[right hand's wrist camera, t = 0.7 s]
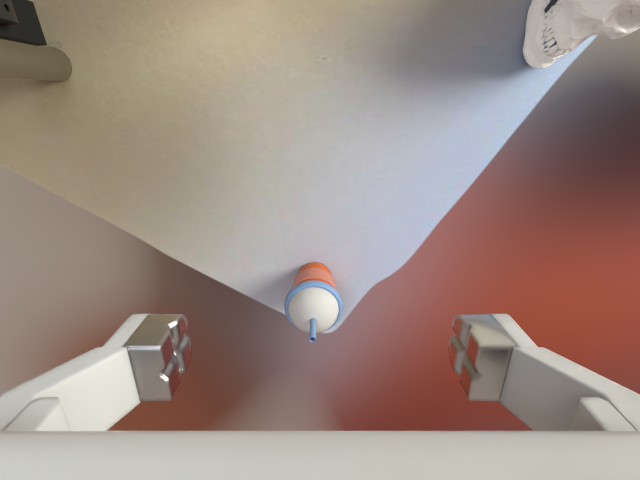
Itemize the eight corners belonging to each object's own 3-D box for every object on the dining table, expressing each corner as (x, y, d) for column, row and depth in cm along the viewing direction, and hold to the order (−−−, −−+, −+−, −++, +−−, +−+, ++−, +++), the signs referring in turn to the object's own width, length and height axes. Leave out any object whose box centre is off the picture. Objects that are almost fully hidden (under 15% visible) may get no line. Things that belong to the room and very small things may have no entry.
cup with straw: (285, 293, 65) (273, 360, 48) (294, 249, 62) (285, 305, 45) (333, 302, 66) (337, 371, 49) (344, 260, 62) (353, 317, 46)
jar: (65, 46, 50) (-35, 24, 36) (75, 80, 52) (-17, 71, 38) (35, 49, 50) (-76, 28, 36) (47, 82, 52) (-56, 75, 38)
